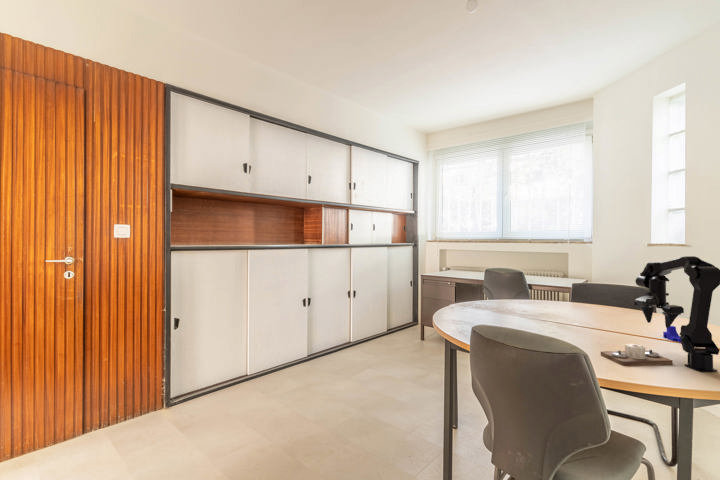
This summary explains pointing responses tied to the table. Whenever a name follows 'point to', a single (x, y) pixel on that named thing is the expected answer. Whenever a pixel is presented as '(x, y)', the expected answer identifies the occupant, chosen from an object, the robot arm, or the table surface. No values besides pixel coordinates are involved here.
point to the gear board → (636, 359)
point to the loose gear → (635, 350)
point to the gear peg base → (623, 355)
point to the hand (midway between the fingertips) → (657, 325)
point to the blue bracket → (672, 334)
